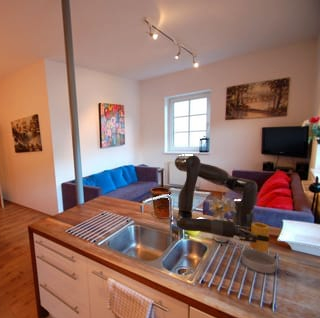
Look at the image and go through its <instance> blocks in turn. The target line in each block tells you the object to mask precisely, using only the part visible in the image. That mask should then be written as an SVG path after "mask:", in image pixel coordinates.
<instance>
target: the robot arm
mask: <svg viewBox="0 0 320 318" xmlns="http://www.w3.org/2000/svg"><path fill="white" fill-rule="evenodd" d="M174 166H175V168H176V169H177V170H178V171H180V172H183V173H186V176H185V181H184V183H183V186H182V187H181V188H180V190H179V193H178V198H177V199H178V201H177V208H178V212H177V218H176V220H175V223H176V226H177V227H178V228H179V229H181V230H183V231H188V232H201V233H207V234H210V235H211V234H214V235H219V236H224V237H230V239H233V238H234V237H235V236H236V237H238V239H239V241H243V242H249V243H250V242H256V241H257V240H260V241H265V242H270V236H269V237H267V236H262V235H256V234H253V233H252V232H251V225H252V223H254V217H255V204H256V202H257V195H258V183H257V182H256V181H254V180H251V179H246V178H242V177H236V176H233V175H230V173H229V172H228V171H226V170H225V169H223V168H221V167H218V166H215V165H211V164H208V163H203V162H201V159H200V158H199V156H197V155H195V154H181V155H178V156H177V157H176V158H175V160H174ZM198 178H200V179H202V180H205V181H207V182H208V183H211V184H214V185H216V186H220V187H224V188H227V189H228V190H230V191H232V192H233V193H235V194H239V195H242V198H236V199H233V200H234V203H235V204H236V205H235V207H234V208H235V209H236V212H235V213H234V212H233V215H232V221H231V220H230V219H229V217H228V216H227V215H224V218H226V220H224V221H223V220H218V218H217V219H216V218H206V217H198V218H196V217H195V218H193V207H194V197H195V196H194V195H195V190H196V186H197V181H198ZM234 203H233V204H234ZM251 235H253V236H251ZM251 239H252V240H251Z"/></svg>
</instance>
